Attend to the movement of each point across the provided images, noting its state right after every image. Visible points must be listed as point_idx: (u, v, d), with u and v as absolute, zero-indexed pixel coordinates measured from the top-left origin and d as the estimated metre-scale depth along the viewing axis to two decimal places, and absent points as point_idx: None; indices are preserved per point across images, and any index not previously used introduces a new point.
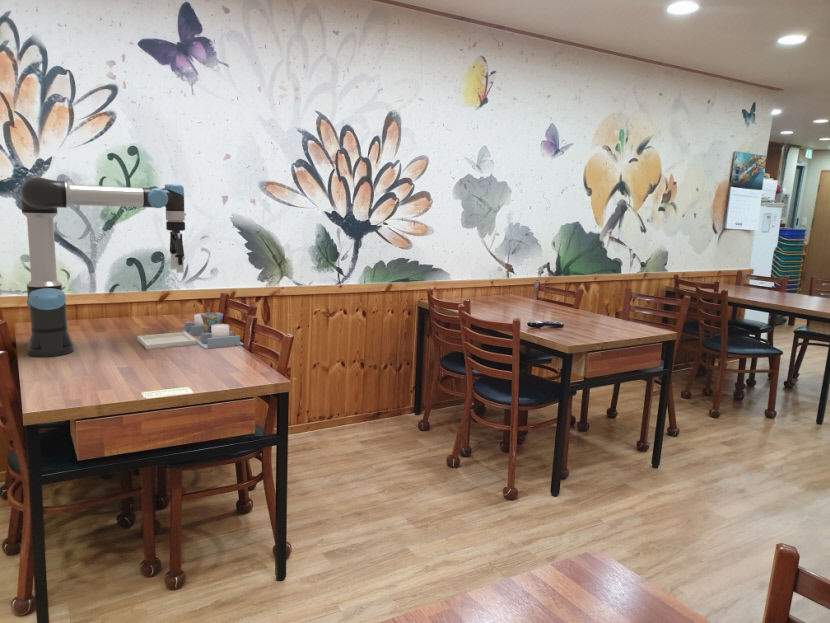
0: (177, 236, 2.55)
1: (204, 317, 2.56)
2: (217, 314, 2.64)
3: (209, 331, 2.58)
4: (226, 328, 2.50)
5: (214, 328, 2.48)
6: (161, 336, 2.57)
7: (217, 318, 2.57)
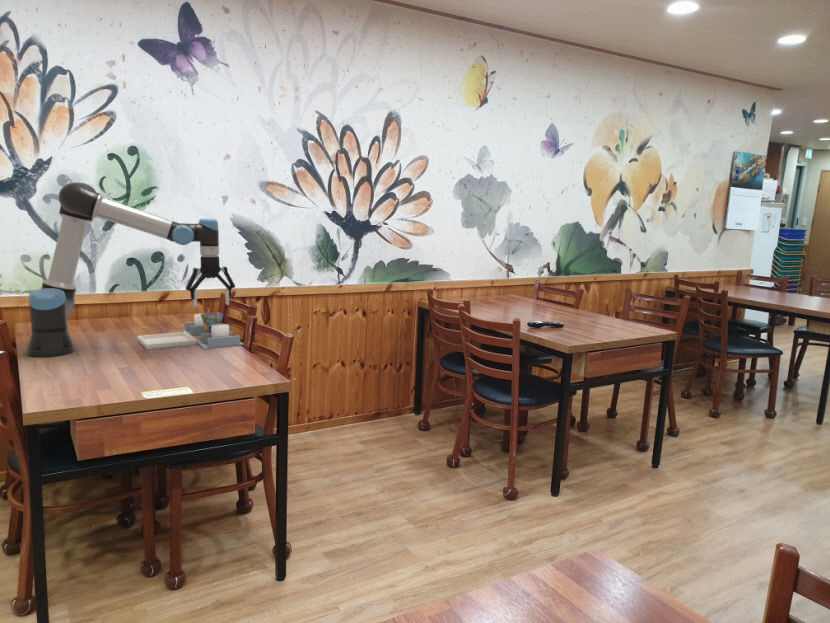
0: (193, 270, 2.54)
1: (204, 317, 2.56)
2: (217, 314, 2.64)
3: (209, 331, 2.58)
4: (226, 328, 2.50)
5: (214, 328, 2.48)
6: (161, 336, 2.57)
7: (217, 318, 2.57)
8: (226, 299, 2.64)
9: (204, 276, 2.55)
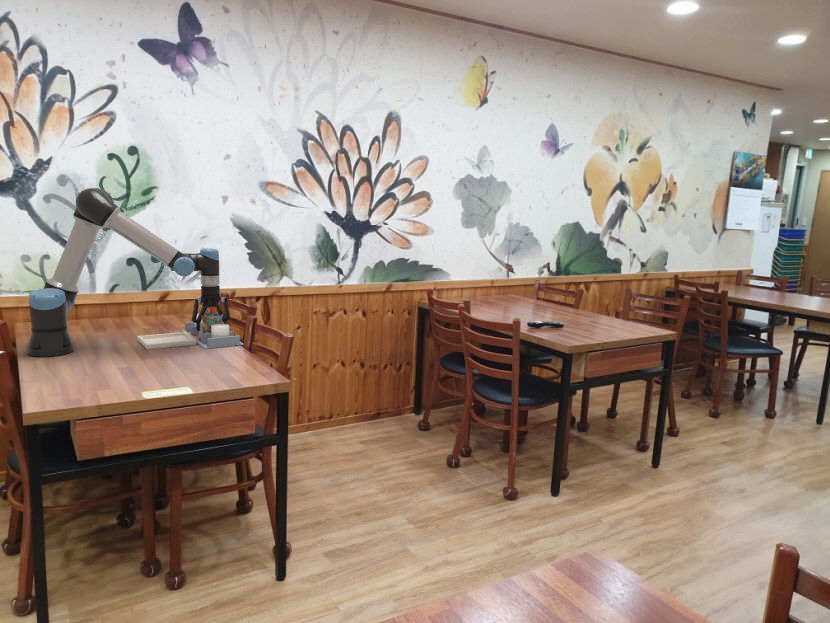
0: (194, 302, 2.57)
1: (204, 317, 2.56)
2: (217, 314, 2.64)
3: (209, 331, 2.58)
4: (226, 328, 2.50)
5: (214, 328, 2.48)
6: (161, 336, 2.57)
7: (217, 318, 2.57)
8: None
9: (206, 306, 2.58)
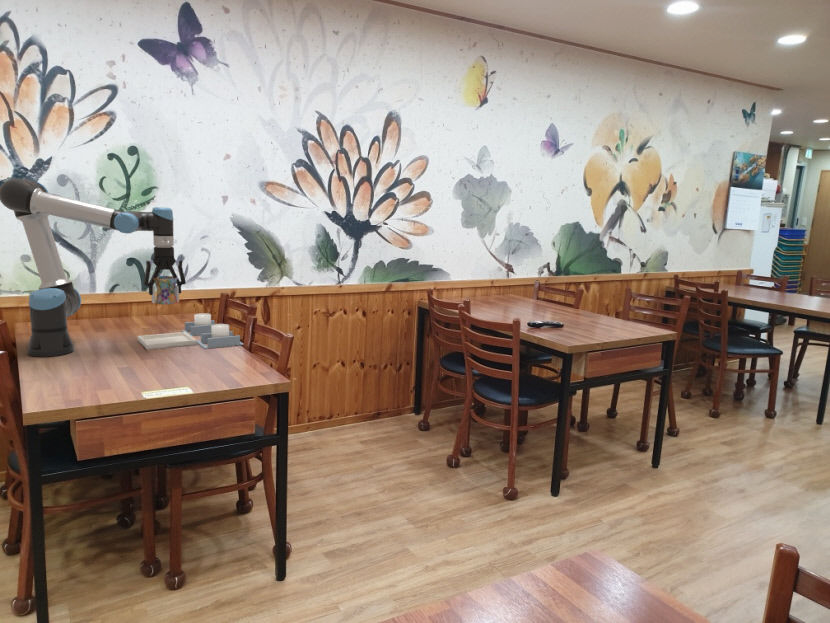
0: (146, 264, 2.42)
1: (156, 280, 2.42)
2: (171, 278, 2.49)
3: (162, 295, 2.43)
4: (226, 328, 2.50)
5: (214, 328, 2.48)
6: (161, 336, 2.57)
7: (170, 281, 2.43)
8: (176, 296, 2.50)
9: (159, 268, 2.43)
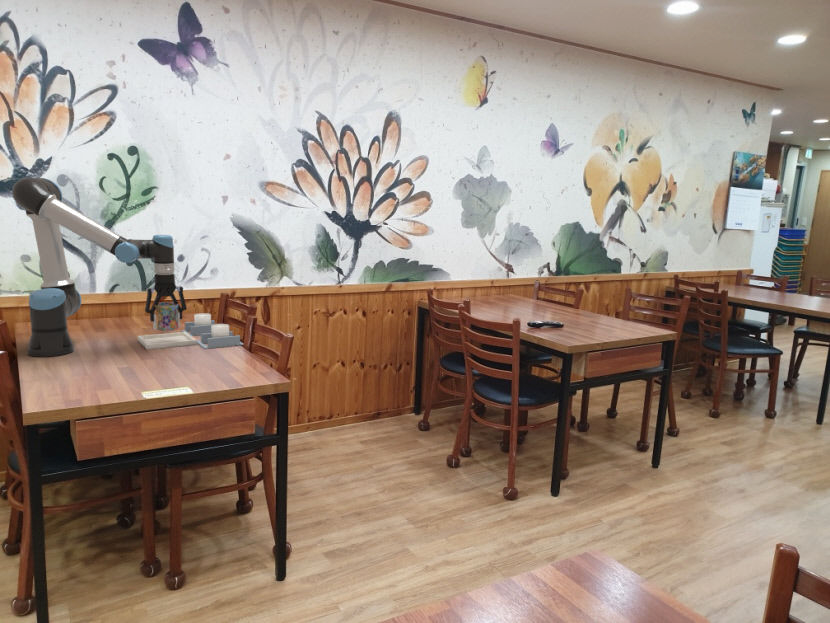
0: (147, 291, 2.44)
1: (157, 307, 2.44)
2: (172, 304, 2.51)
3: (163, 321, 2.45)
4: (226, 328, 2.50)
5: (214, 328, 2.48)
6: (161, 336, 2.57)
7: (171, 308, 2.45)
8: (177, 322, 2.52)
9: (160, 295, 2.45)
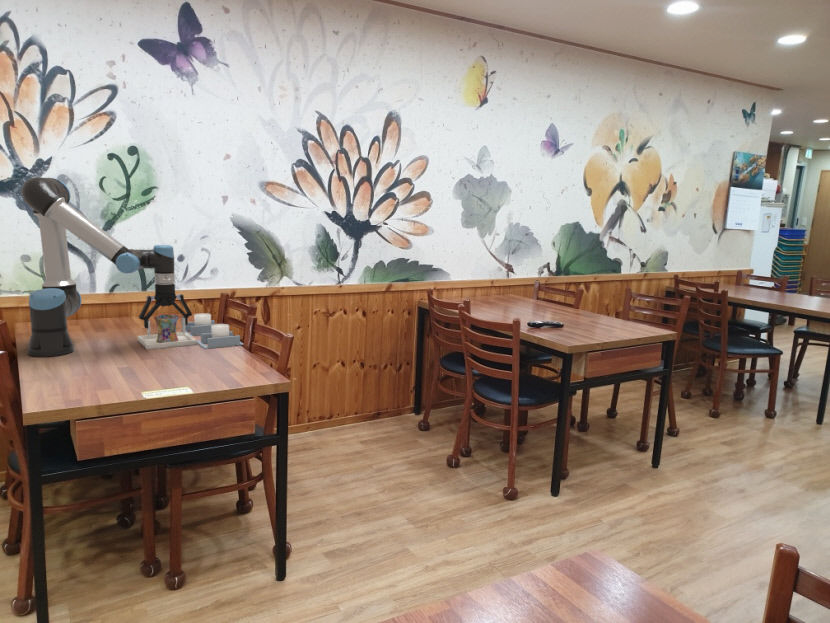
0: None
1: (157, 319, 2.44)
2: (172, 316, 2.52)
3: (163, 334, 2.46)
4: (226, 328, 2.50)
5: (214, 328, 2.48)
6: None
7: (171, 321, 2.46)
8: (182, 327, 2.54)
9: (158, 304, 2.46)
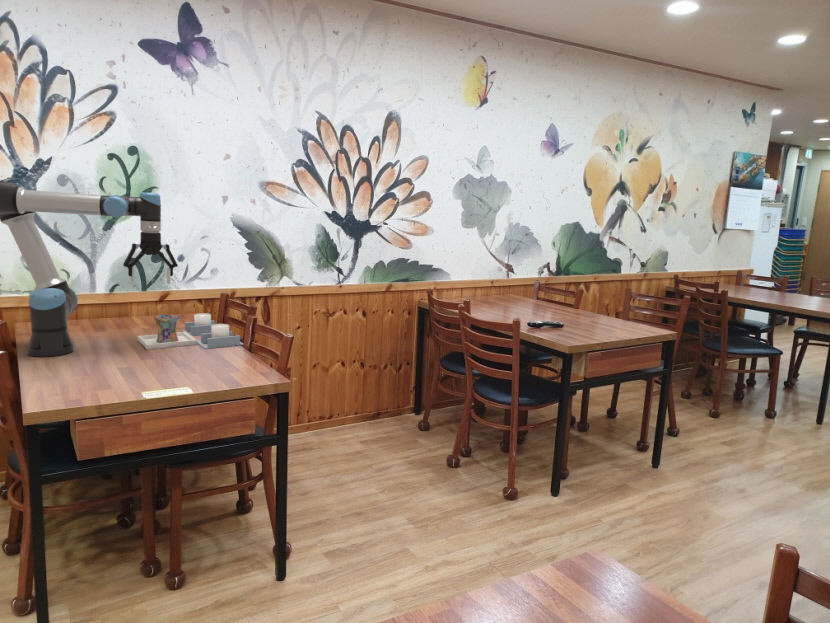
0: None
1: (157, 319, 2.44)
2: (172, 316, 2.52)
3: (163, 334, 2.46)
4: (226, 328, 2.50)
5: (214, 328, 2.48)
6: None
7: (171, 321, 2.46)
8: (167, 278, 2.51)
9: (143, 252, 2.43)
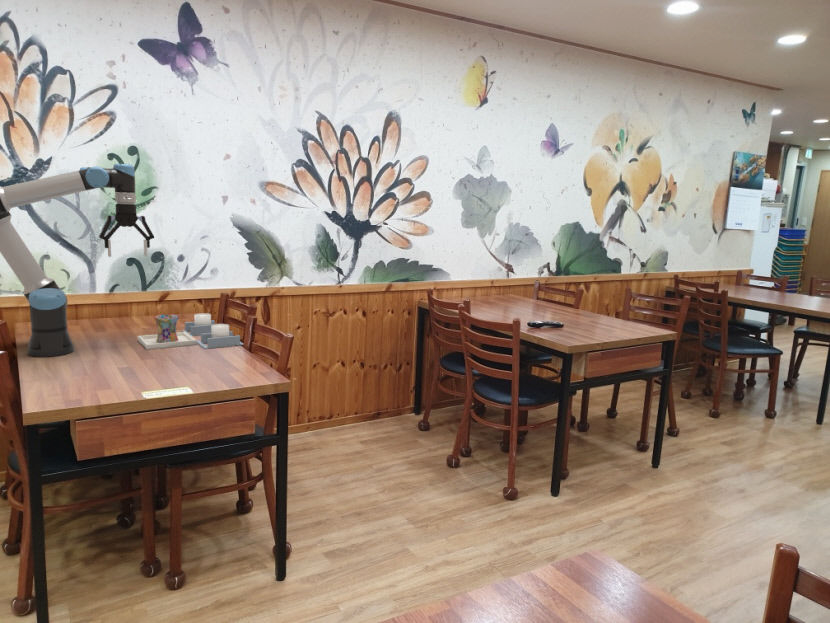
0: (107, 218, 2.43)
1: (157, 319, 2.44)
2: (172, 316, 2.52)
3: (163, 334, 2.46)
4: (226, 328, 2.50)
5: (214, 328, 2.48)
6: None
7: (171, 321, 2.46)
8: (144, 250, 2.53)
9: (119, 224, 2.44)
